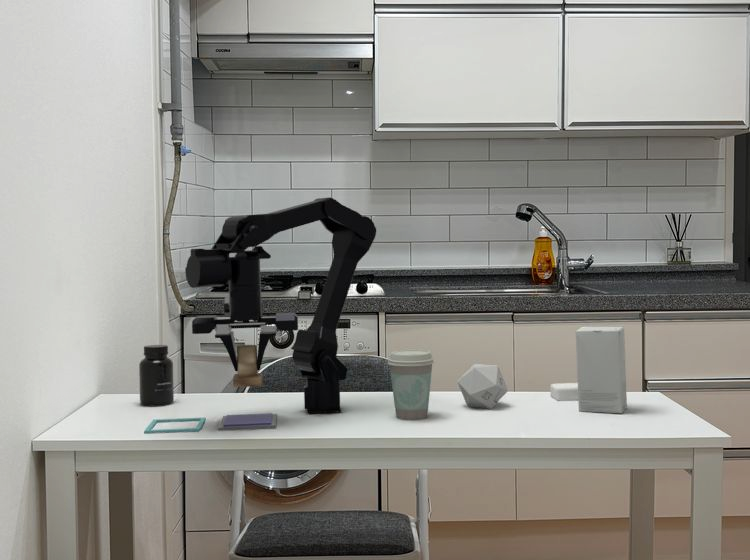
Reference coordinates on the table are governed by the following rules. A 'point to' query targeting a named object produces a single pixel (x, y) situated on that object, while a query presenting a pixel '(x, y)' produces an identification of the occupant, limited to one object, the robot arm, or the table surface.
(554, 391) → the soap
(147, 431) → the teal flat square frame
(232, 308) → the robot arm
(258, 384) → the stamp
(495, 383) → the die
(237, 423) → the ink pad
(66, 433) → the table surface
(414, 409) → the coffee cup
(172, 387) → the supplement bottle
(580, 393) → the skincare box
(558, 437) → the table surface
